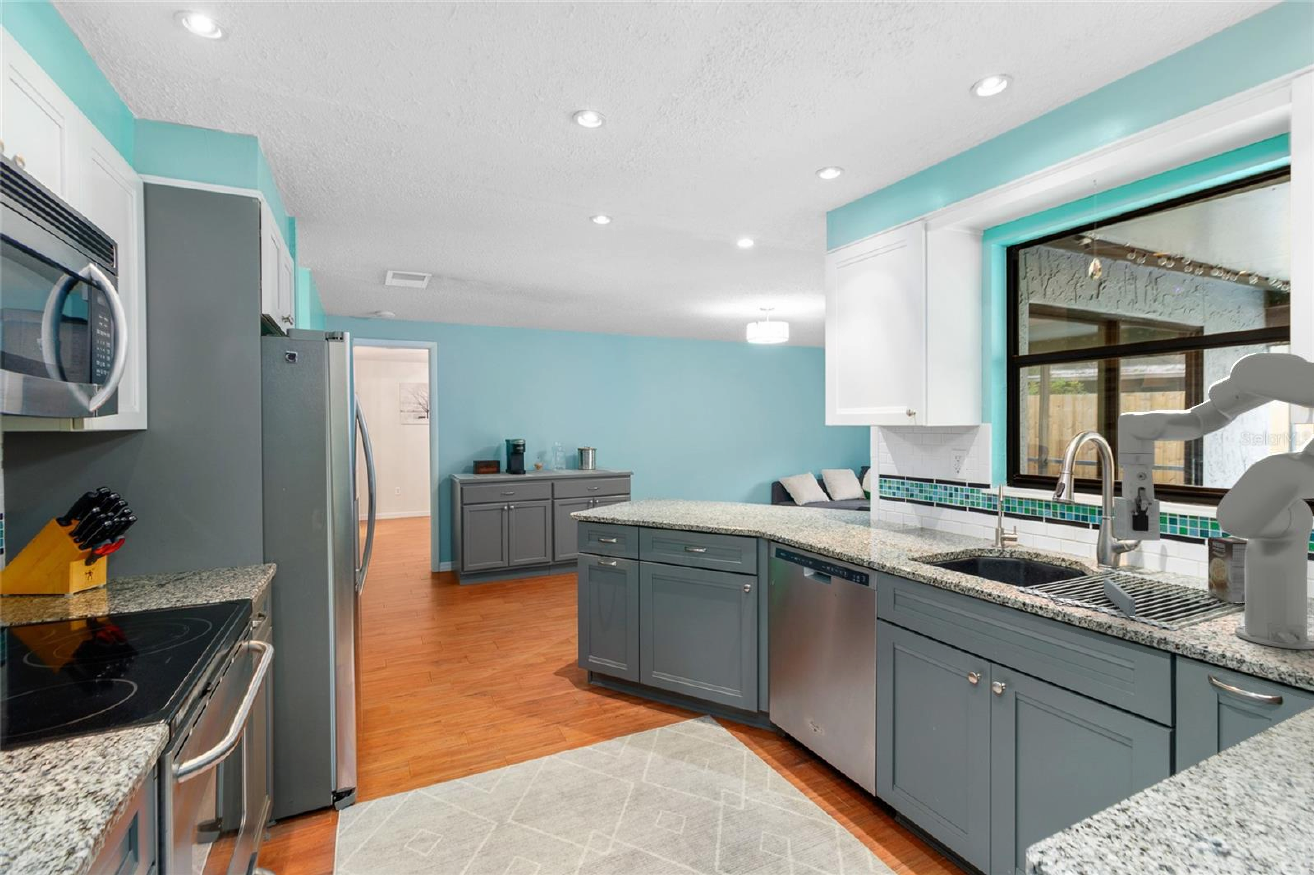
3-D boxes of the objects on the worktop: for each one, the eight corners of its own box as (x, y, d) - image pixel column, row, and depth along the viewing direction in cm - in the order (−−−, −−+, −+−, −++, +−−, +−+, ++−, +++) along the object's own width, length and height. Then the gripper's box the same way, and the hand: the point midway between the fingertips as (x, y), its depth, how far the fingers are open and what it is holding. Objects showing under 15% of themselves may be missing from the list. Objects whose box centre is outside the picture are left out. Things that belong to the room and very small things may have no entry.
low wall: (1135, 618, 149) (1135, 599, 149) (1129, 617, 149) (1129, 599, 149) (1109, 594, 171) (1108, 578, 171) (1103, 594, 171) (1103, 577, 171)
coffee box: (1206, 594, 170) (1206, 536, 170) (1233, 595, 169) (1233, 536, 169) (1231, 603, 161) (1230, 541, 161) (1259, 604, 160) (1259, 542, 160)
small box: (1146, 537, 164) (1146, 497, 164) (1160, 541, 158) (1160, 499, 158) (1113, 537, 165) (1113, 497, 165) (1126, 540, 159) (1126, 499, 159)
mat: (1098, 608, 157) (1098, 607, 157) (1056, 605, 161) (1056, 603, 161) (1088, 598, 167) (1088, 597, 167) (1048, 594, 171) (1048, 593, 171)
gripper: (1164, 461, 152) (1164, 534, 152) (1144, 459, 168) (1144, 525, 168) (1127, 461, 155) (1127, 532, 155) (1110, 458, 171) (1110, 523, 171)
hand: (1136, 528), depth 161 cm, fingers closed on small box, 6 cm apart
